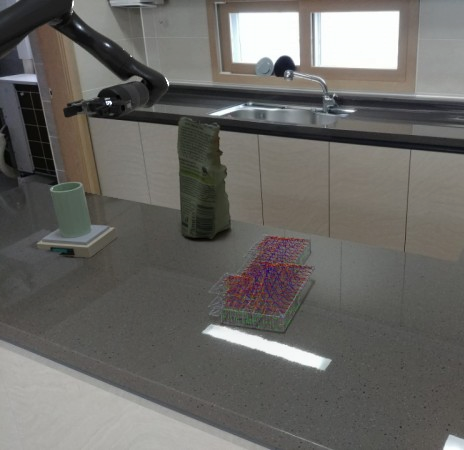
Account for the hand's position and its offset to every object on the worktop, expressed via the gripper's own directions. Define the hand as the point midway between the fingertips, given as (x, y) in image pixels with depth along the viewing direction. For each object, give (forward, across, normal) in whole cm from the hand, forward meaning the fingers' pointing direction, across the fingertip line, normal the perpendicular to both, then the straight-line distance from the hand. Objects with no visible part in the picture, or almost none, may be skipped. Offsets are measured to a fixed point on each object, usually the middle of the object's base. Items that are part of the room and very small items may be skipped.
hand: (81, 113), depth 123 cm
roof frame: (+28, +52, +24) cm, 64 cm away
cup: (+19, +7, +21) cm, 29 cm away
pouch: (+8, +32, +24) cm, 41 cm away
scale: (+19, +7, +24) cm, 31 cm away
